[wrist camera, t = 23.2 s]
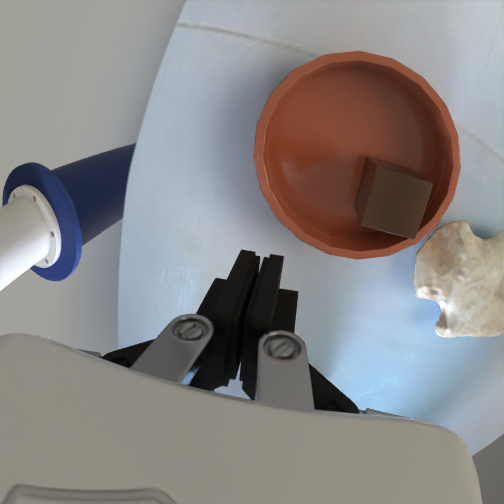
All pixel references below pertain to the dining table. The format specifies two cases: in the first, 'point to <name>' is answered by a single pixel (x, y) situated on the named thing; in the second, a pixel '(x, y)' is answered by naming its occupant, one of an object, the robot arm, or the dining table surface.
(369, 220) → the block
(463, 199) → the dining table surface
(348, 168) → the bowl
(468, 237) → the rock
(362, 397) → the dining table surface
